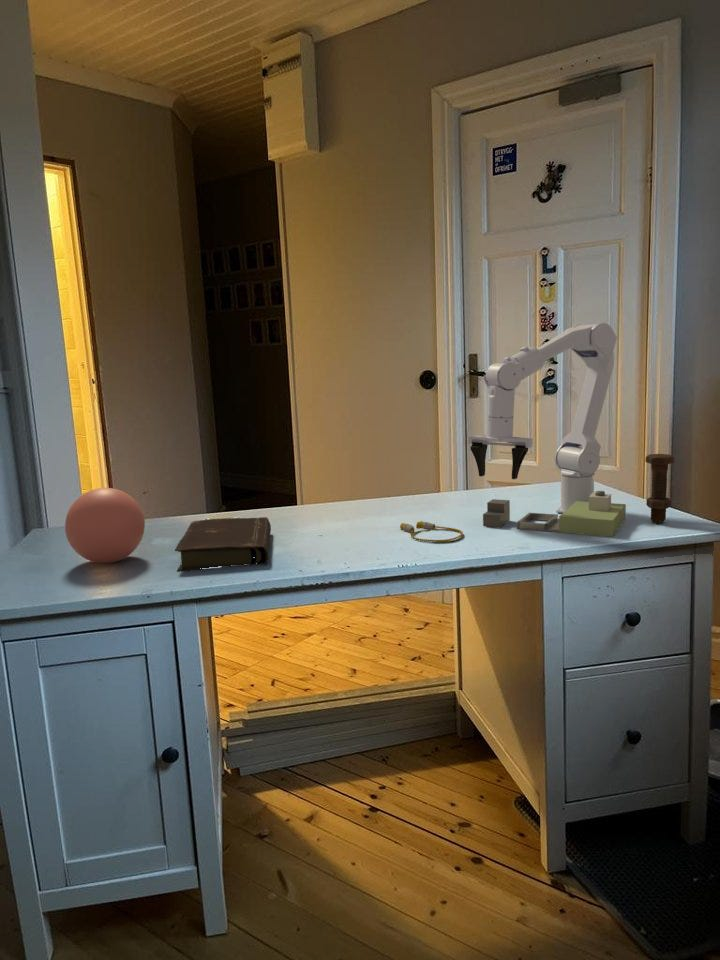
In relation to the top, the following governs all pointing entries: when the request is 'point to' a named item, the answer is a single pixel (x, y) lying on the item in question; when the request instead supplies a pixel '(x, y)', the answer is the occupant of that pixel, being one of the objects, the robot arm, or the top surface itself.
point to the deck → (593, 516)
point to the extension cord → (428, 526)
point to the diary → (224, 542)
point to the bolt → (659, 486)
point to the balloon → (104, 525)
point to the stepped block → (497, 513)
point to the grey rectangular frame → (550, 525)
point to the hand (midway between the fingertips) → (498, 477)
